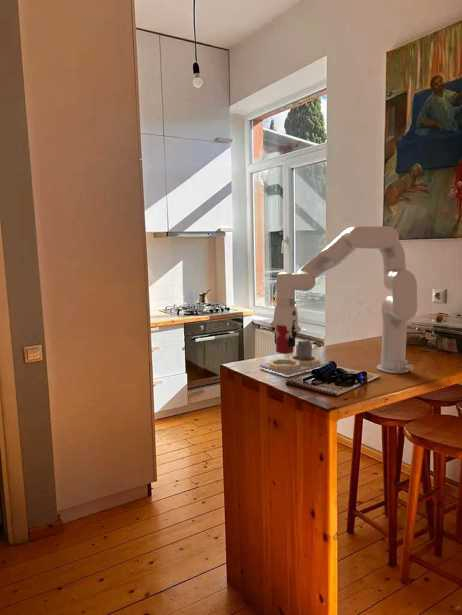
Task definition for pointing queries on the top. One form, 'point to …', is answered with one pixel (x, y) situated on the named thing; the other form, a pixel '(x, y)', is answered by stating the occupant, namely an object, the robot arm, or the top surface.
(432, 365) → the top surface
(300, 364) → the octagonal socket board
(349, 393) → the top surface
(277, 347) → the soda can
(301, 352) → the seated plug
